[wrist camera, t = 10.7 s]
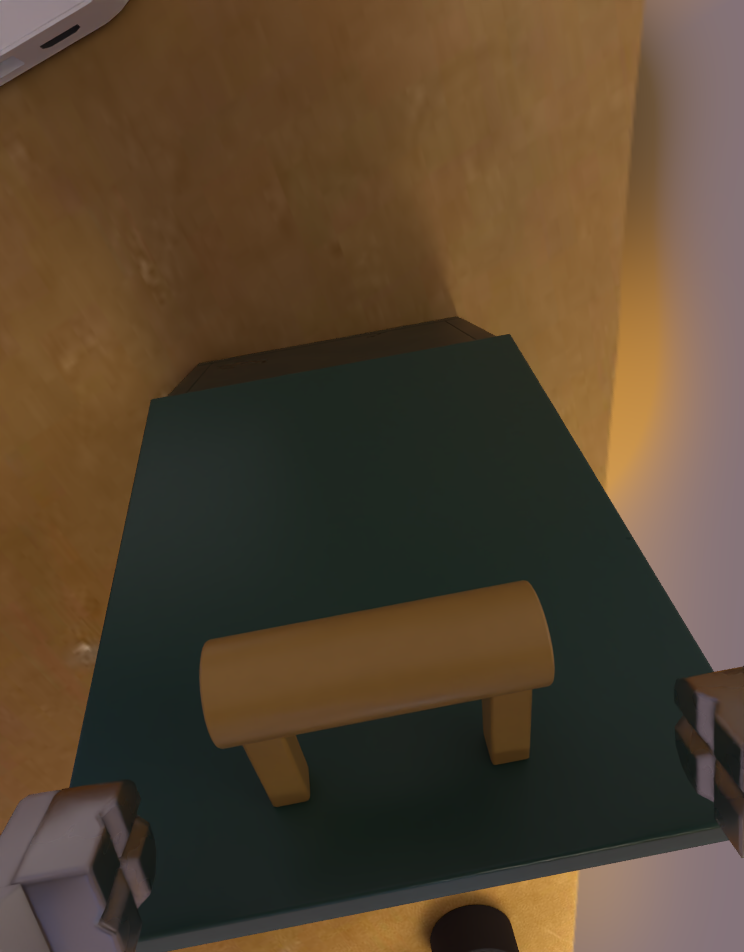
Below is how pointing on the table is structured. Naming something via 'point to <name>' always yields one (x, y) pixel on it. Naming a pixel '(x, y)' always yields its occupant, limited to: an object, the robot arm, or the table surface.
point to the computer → (46, 29)
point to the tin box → (329, 353)
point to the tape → (473, 931)
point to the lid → (381, 650)
